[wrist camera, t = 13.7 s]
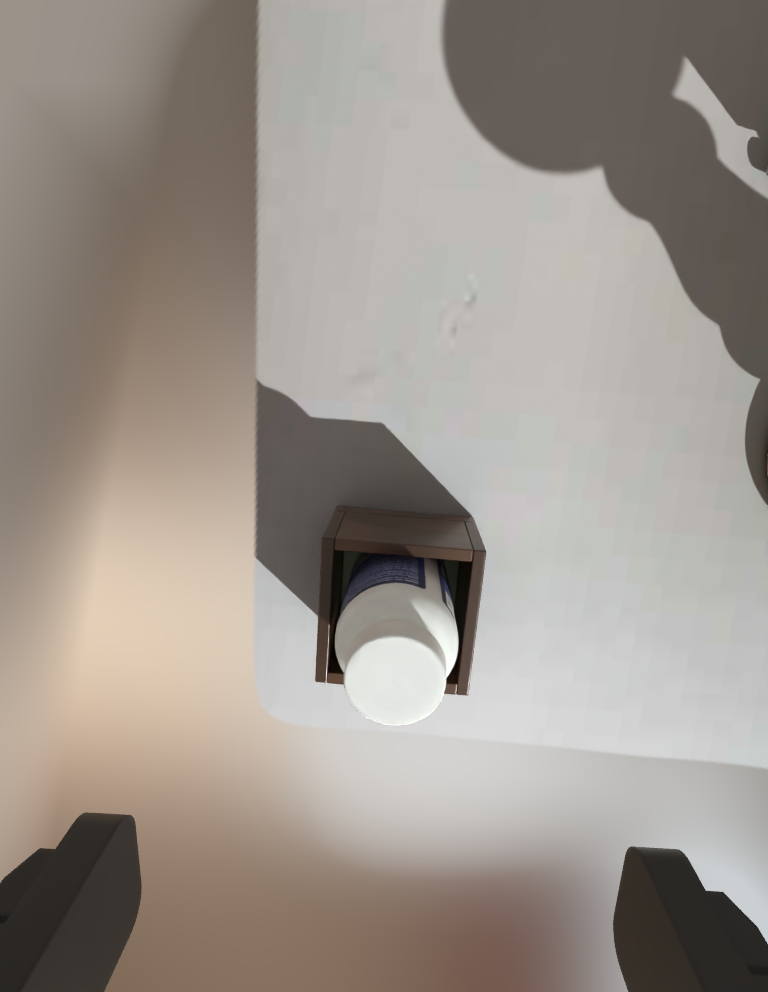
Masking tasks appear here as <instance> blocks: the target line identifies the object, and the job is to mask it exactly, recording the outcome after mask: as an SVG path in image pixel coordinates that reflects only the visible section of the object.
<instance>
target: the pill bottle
mask: <svg viewBox="0 0 768 992" xmlns="http://www.w3.org/2000/svg"><path fill="white" fill-rule="evenodd" d="M335 651H336V656H337V659H338V662H339V665H340V667H341V669H342V671H343V672H344V688H345V691H346V695H347V697H348V699H349V700H350V702H351V703H352V705H353V706H354V707H355V708H356V710H357V711H359V712H360V713H361V714H362V715H364V716H365V717H367V718H368V719H370V720H372V721H375V722H378V723H381V724H385V725H407V724H411V723H414V722H417V721H419V720H421V719H423V718H425V717H426V716H428V715H429V714H430V713H432V712H433V711H434V710H435V709H436V707H437V706H438V705H439V703H440V702H441V700H442V698H443V695H444V692H445V688H446V678H447V677H448V675H449V674H450V672H451V670H452V668H453V666H454V664H455V661H456V658H457V653H458V631H457V626H456V621H455V615H454V609H453V603H452V597H451V592H450V587H449V581H448V577H447V573H446V570H445V567H444V565H443V563H442V561H441V559H434V558H422V557H410V556H399V555H387V554H375V553H362V554H361V555H360V556H359V557H358V559H357V560H356V562H355V564H354V566H353V569H352V571H351V574H350V578H349V582H348V586H347V590H346V594H345V598H344V601H343V605H342V609H341V613H340V616H339V620H338V623H337V627H336V634H335Z"/></svg>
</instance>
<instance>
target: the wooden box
mask: <svg viewBox="0 0 768 992" xmlns="http://www.w3.org/2000/svg"><path fill="white" fill-rule="evenodd" d="M362 553H375V554H387V555H399V556H410V557H422V558H434V559H441V561H442V563H443V565H444V567H445V570H446V573H447V577H448V581H449V587H450V592H451V597H452V603H453V609H454V615H455V621H456V626H457V631H458V653H457V658H456V661H455V664H454V666H453V668H452V670H451V672H450V674H449V675H448V677H447V678H446V688H445V692H444V694H454V695H455V694H457V695H468V692H469V684H470V677H471V669H472V661H473V653H474V645H475V637H476V629H477V621H478V613H479V605H480V597H481V590H482V582H483V574H484V566H485V558H486V550H485V547H484V545H483V542H482V539H481V537H480V534H479V531H478V529H477V526H476V524H475V521H474V518H473V517H465V516H453V515H441V514H428V513H416V512H404V511H392V510H380V509H368V508H356V507H344V506H337V508H336V510H335V512H334V514H333V516H332V518H331V520H330V522H329V525H328V527H327V529H326V531H325V533H324V535H323V537H322V549H321V570H320V591H319V613H318V634H317V655H316V676H315V681H316V682H324V683H326V682H327V683H333V684H344V672H343V671H342V669H341V667H340V665H339V662H338V659H337V656H336V651H335V634H336V627H337V623H338V620H339V616H340V613H341V609H342V605H343V601H344V598H345V594H346V590H347V586H348V582H349V578H350V574H351V571H352V569H353V566H354V564H355V562H356V560H357V559H358V557H359V556H360V555H361V554H362Z"/></svg>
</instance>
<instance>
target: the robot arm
mask: <svg viewBox="0 0 768 992" xmlns="http://www.w3.org/2000/svg"><path fill="white" fill-rule="evenodd" d="M140 899H141V875H140V865H139V856H138V845H137V836H136V825H135V821H134V818H133V817H132V816H131V815H120V814H102V813H84V814H82V815H80V816H79V817H78V818H77V819H76V821H75V822H74V823H73V824H72V826H71V827H70V829H69V830H68V832H67V833H66V835H65V836H64V838H63V839H62V841H61V842H60V843H59V845H58V846H57V848H56V849H43V848H40V849H39V850H37V851H36V852H35V853H34V854H32V855H31V856H30V857H29V858H28V859H26V860H25V861H24V862H23V863H22V864H20V865H19V866H18V867H17V868H16V869H14V870H13V871H12V872H11V873H10V874H8V875H7V876H6V877H5V878H4V879H3V880H2V882H1V883H0V992H104V991H105V988H106V986H107V984H108V982H109V980H110V978H111V975H112V973H113V971H114V969H115V967H116V964H117V963H118V960H119V958H120V956H121V954H122V951H123V949H124V947H125V945H126V943H127V941H128V939H129V937H130V934H131V932H132V929H133V927H134V924H135V921H136V918H137V914H138V909H139V905H140ZM613 931H614V942H615V948H616V954H617V958H618V962H619V965H620V969H621V971H622V974H623V977H624V980H625V983H626V986H627V989H628V992H768V944H767V942H766V941H765V939H764V937H763V936H762V934H761V932H760V931H759V929H758V927H757V926H756V925H755V924H754V923H753V922H752V921H751V920H750V919H749V918H748V917H747V916H746V915H745V914H744V913H743V912H742V911H741V910H740V909H739V908H738V907H737V906H736V905H735V904H734V903H733V902H732V901H731V900H730V899H729V898H728V897H727V896H726V895H725V894H724V893H723V892H715V891H706V890H705V889H704V887H703V885H702V883H701V881H700V880H699V878H698V876H697V874H696V872H695V870H694V869H693V867H692V865H691V863H690V862H689V860H688V858H687V857H686V856H685V854H684V853H683V852H682V851H680V850H677V849H662V848H646V847H629V848H628V850H627V852H626V855H625V860H624V865H623V871H622V876H621V881H620V887H619V892H618V897H617V902H616V907H615V913H614V920H613Z"/></svg>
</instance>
